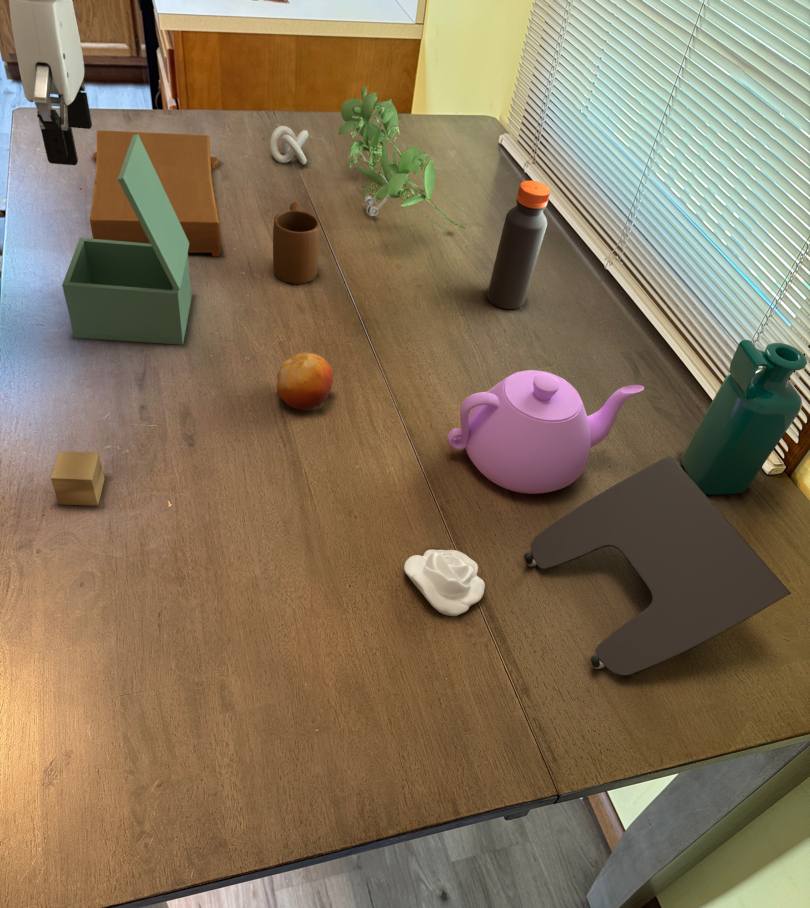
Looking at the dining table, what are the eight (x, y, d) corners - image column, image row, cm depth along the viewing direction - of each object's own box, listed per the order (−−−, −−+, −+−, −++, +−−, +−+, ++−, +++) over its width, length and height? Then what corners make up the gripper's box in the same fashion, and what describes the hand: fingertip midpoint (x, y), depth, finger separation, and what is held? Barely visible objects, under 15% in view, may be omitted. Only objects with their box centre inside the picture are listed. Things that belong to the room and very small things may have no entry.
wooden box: (78, 219, 123) (88, 121, 144) (86, 256, 128) (94, 156, 149) (228, 222, 128) (216, 127, 149) (230, 258, 133) (218, 161, 154)
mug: (271, 246, 137) (272, 194, 130) (314, 248, 138) (317, 197, 131) (273, 284, 129) (273, 231, 122) (318, 286, 131) (321, 234, 123)
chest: (74, 337, 113) (61, 284, 107) (90, 289, 121) (79, 237, 115) (183, 345, 116) (177, 293, 109) (191, 297, 124) (187, 246, 117)
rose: (397, 582, 87) (416, 521, 93) (393, 604, 90) (411, 544, 97) (483, 605, 87) (496, 542, 93) (475, 626, 90) (488, 564, 96)
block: (58, 504, 93) (50, 478, 90) (66, 477, 96) (58, 450, 93) (98, 506, 94) (91, 479, 90) (104, 478, 97) (98, 452, 93)
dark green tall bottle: (725, 454, 117) (801, 331, 100) (750, 495, 111) (835, 373, 95) (666, 455, 115) (734, 330, 98) (689, 497, 109) (765, 373, 93)
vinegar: (497, 312, 133) (527, 200, 118) (480, 290, 137) (506, 178, 121) (531, 307, 135) (564, 196, 120) (512, 286, 139) (542, 176, 124)
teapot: (454, 503, 102) (475, 426, 92) (433, 414, 113) (450, 336, 103) (628, 502, 107) (667, 428, 97) (592, 416, 118) (623, 342, 108)
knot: (268, 166, 156) (268, 136, 151) (272, 148, 161) (272, 119, 156) (305, 171, 157) (306, 141, 152) (308, 153, 162) (309, 124, 157)
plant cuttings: (382, 201, 167) (303, 137, 151) (436, 136, 159) (360, 62, 144) (435, 293, 146) (350, 230, 131) (500, 224, 139) (419, 148, 124)
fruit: (337, 417, 108) (311, 371, 103) (290, 428, 111) (262, 384, 106) (350, 382, 113) (325, 337, 108) (304, 394, 116) (278, 350, 111)
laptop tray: (521, 566, 104) (509, 534, 97) (670, 483, 104) (670, 444, 96) (614, 712, 92) (609, 688, 84) (784, 617, 91) (794, 585, 84)
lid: (117, 179, 96) (123, 177, 96) (132, 135, 104) (138, 133, 104) (174, 291, 109) (180, 290, 109) (184, 244, 117) (189, 243, 117)
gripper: (17, -56, 84) (52, 111, 97) (-25, -5, 73) (21, 176, 86) (89, -47, 85) (114, 117, 98) (59, 4, 74) (92, 181, 87)
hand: (71, 144), depth 92 cm, fingers open, 9 cm apart
